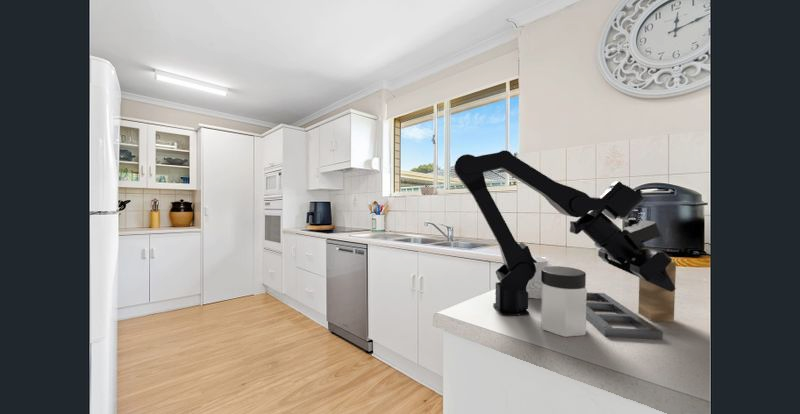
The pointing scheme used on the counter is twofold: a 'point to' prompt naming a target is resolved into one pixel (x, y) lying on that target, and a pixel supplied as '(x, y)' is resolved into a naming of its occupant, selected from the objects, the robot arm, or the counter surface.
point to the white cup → (536, 278)
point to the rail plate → (618, 319)
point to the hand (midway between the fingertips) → (658, 283)
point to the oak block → (657, 299)
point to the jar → (563, 301)
